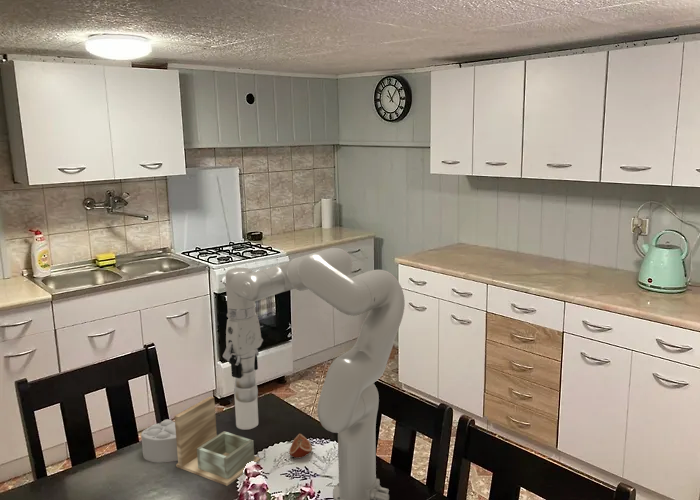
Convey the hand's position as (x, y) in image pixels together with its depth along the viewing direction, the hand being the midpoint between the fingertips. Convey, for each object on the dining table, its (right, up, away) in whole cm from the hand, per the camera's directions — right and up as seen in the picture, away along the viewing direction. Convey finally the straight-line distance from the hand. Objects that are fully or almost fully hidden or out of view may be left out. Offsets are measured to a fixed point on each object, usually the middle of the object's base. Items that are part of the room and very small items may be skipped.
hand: (245, 372), depth 163 cm
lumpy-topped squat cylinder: (-24, -25, +6) cm, 36 cm away
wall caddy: (-7, -26, 0) cm, 27 cm away
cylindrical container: (-3, -22, +23) cm, 32 cm away
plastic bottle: (0, -9, +2) cm, 9 cm away
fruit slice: (+16, -25, +4) cm, 30 cm away
